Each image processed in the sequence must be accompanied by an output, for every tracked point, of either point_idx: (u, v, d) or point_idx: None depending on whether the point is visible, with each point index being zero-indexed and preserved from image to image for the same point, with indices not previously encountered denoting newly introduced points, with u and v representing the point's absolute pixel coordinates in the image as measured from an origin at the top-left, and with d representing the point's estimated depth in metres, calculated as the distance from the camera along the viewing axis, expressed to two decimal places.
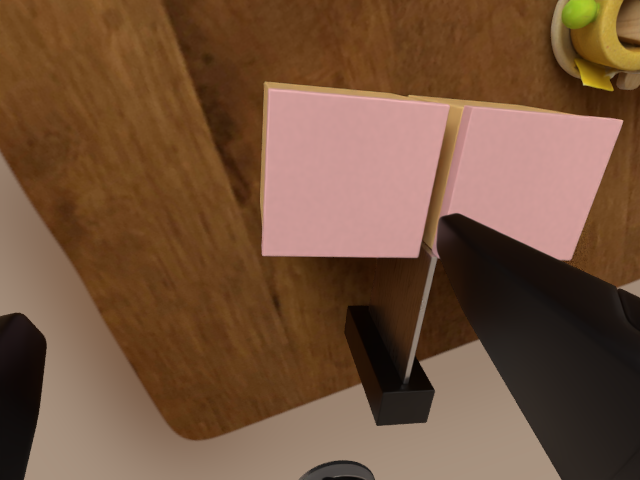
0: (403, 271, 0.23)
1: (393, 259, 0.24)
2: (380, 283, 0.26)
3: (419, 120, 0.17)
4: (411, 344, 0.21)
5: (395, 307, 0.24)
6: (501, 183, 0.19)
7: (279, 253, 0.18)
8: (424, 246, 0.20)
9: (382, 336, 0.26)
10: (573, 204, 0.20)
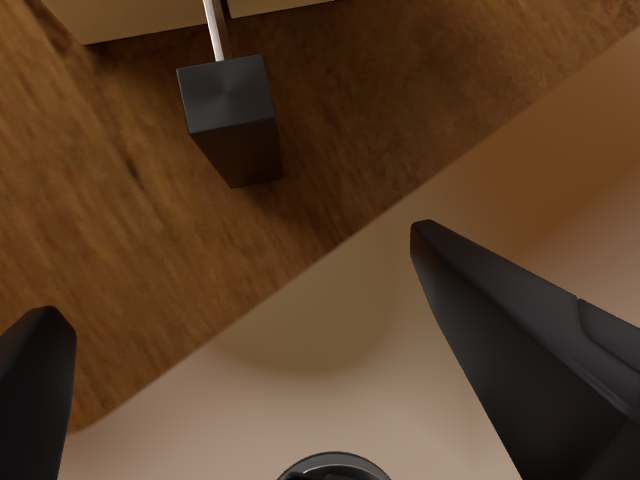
0: None
1: None
2: None
3: None
4: (203, 1, 0.15)
5: None
6: None
7: None
8: None
9: None
10: None
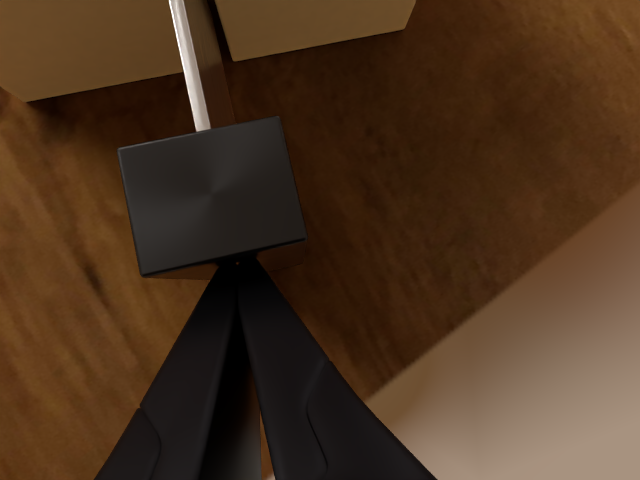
0: None
1: None
2: None
3: None
4: (172, 17, 0.08)
5: None
6: None
7: None
8: None
9: None
10: None
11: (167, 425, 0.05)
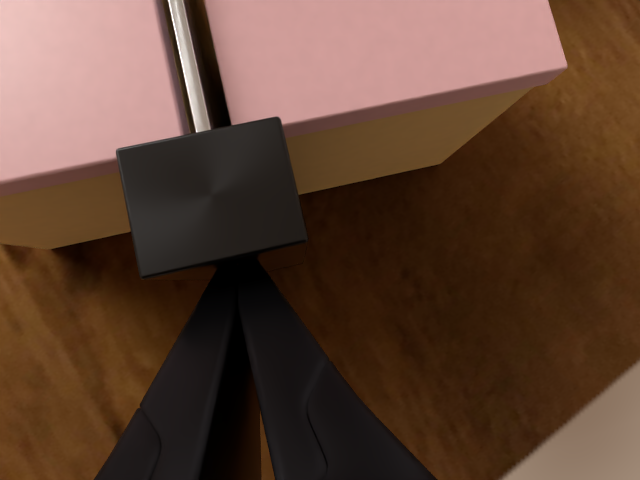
0: None
1: None
2: None
3: None
4: (171, 17, 0.08)
5: None
6: None
7: None
8: None
9: None
10: None
11: (167, 425, 0.05)
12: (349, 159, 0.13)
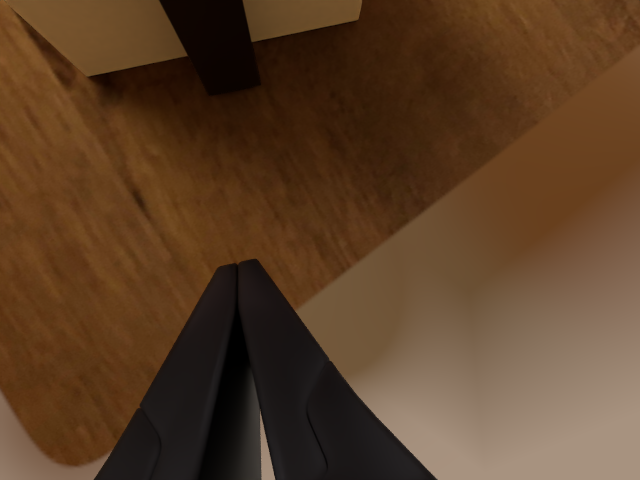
0: None
1: None
2: None
3: None
4: None
5: None
6: None
7: None
8: None
9: None
10: None
11: (167, 425, 0.05)
12: None
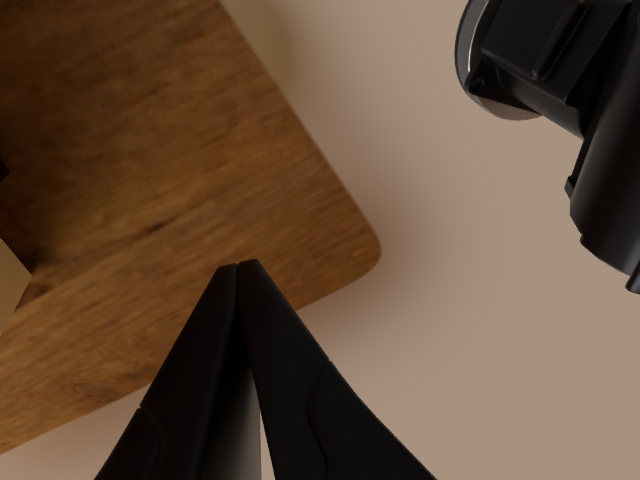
0: None
1: None
2: None
3: None
4: None
5: None
6: None
7: None
8: None
9: None
10: None
11: (167, 425, 0.05)
12: None
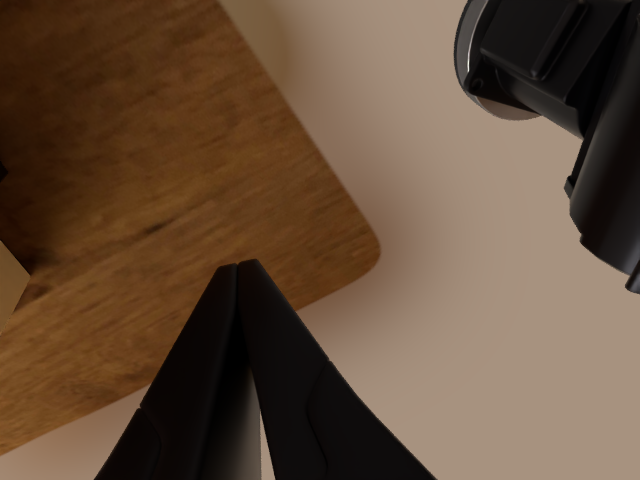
0: None
1: None
2: None
3: None
4: None
5: None
6: None
7: None
8: None
9: None
10: None
11: (167, 425, 0.05)
12: None
